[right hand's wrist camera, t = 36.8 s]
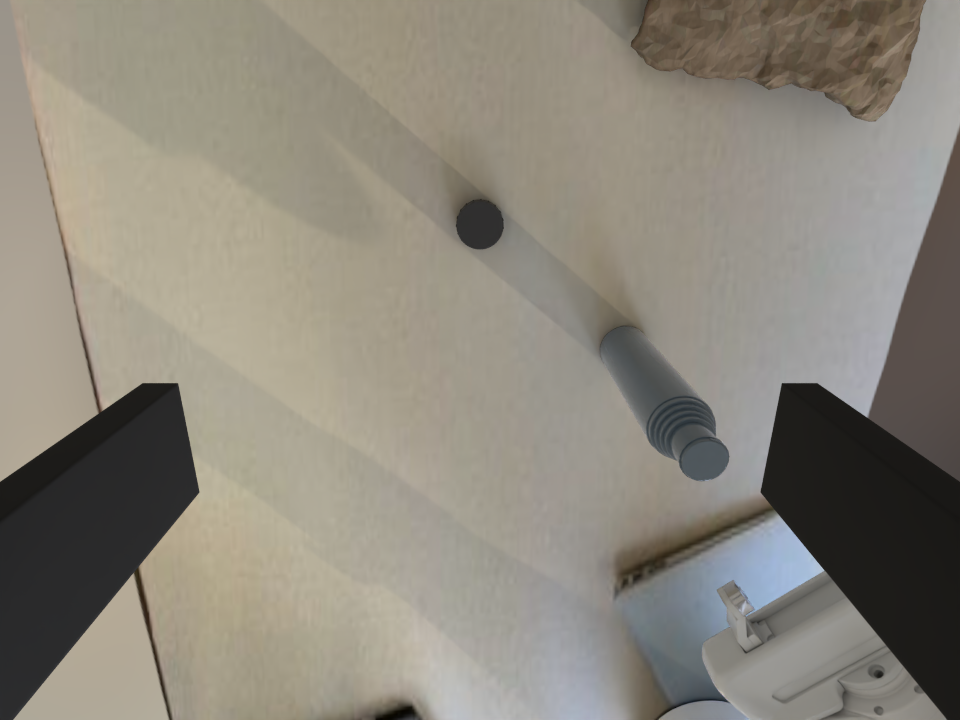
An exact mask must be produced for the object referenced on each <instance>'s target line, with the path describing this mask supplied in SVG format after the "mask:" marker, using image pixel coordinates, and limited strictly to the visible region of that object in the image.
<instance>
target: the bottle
mask: <svg viewBox="0 0 960 720" xmlns="http://www.w3.org/2000/svg"><path fill="white" fill-rule="evenodd" d="M600 356H601V359H602V361H603V363H604V365H605V366H606V368H607V370H608V372H609V373H610V375H611V377H612V379H613V380H614V382H615V384H616V385H617V387H618V389H619V391H620V392H621V394H622V396H623V398H624V399H625V401H626V403H627V404H628V406H629V408H630V410H631V411H632V413H633V415H634V416H635V418H636V420H637V422H638V423H639V425H640V427H641V429H642V430H643V432H644V434H645V435H646V437H647V439H648V441H649V442H650V444H651V445H652V446H653V447H654V448H655V449H656V450H657V451H658V452H659V453H661V454H662V455H664V456H667V457H669V458H672V459H674V460H676V461H678V463H679V466H680V468H681V470H682V472H683V473H684V474H685V475H686V476H687V477H689V478H691V479H694V480H697V481H708V480H711V479H714V478H716V477H718V476H719V475H720V474H721V473H722V472H723V471H724V470H725V468H726V466H727V464H728V461H729V453H728V450H727V448H726V446H725V445H724V444H723V443H722V442H721V441H720V440H719V439H717V438H716V423H715V418H714V416H713V413H712V411H711V409H710V407H709V406H708V405H707V404H706V403H705V402H704V400H703V399H702V398H701V397H700V396H699V395H698V394H697V393H696V391H695V390H694V389H693V388H692V387H691V386H690V385H689V384H688V382H687V381H686V380H685V379H684V378H683V377H682V376H681V375H680V374H679V372H678V371H677V370H676V369H675V368H674V367H673V366H672V365H671V363H670V362H669V361H668V360H667V359H666V358H665V357H664V356H663V354H662V353H661V352H660V351H659V350H658V349H657V348H656V347H655V346H654V344H653V343H652V342H651V341H650V340H649V339H648V338H647V337H646V335H645V334H644V333H643V332H642V331H641V330H639V329H637V328H635V327H631V326H622V327H618V328H616V329H613V330H612V331H610V332H609V333H608V334H607V335H606V336H605V337H604V339H603V341H602V343H601V346H600Z"/></svg>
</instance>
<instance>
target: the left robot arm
mask: <svg viewBox="0 0 960 720" xmlns="http://www.w3.org/2000/svg"><path fill="white" fill-rule="evenodd" d="M717 592H718V593H719V595H720V597H721V599H722V601H723V602H724V604H725V605H726V607H727V623H728V625H729V626H730V627H728V628H727V629H725V630H723V631H721V632H720V633H718V634H716V635H715V636H713V637H711V638H709V639H708V640H706V641H705V642H704V643H703V647H702V659H703V661H704V664H705V667H706V669H707V671H708V673H709V675H710V677H711V679H712V681H713V683H714V685H715V687H716V688H717V689H718V691H719V692H720V693H721V694H722V695H723V696H724V697H725V698H726V699H727V700H728V701H729V702H730V703H728V702H723V701H712V700H710V701H698V702H692V703H688V704H685V705H682V706H679V707H677V708H675V709H673V710H671V711H669V712H667V713H666V714H664V715H663V716H662V717H661V718H659V719H658V720H947V719H946V718H945V717H944V715H943V714H942V713H941V712H940V711H939V709H938V708H937V707H936V706H935V705H934V703H933V702H932V701H931V700H930V698H929V697H928V696H927V695H926V694H925V692H924V691H923V690H922V689H921V687H920V686H919V685H918V684H917V683H916V681H915V680H914V679H913V678H912V676H911V675H910V674H909V673H908V672H907V670H906V669H905V668H904V667H903V665H902V664H901V663H900V662H899V661H898V659H897V658H896V657H895V656H894V654H893V653H892V652H891V651H890V650H889V648H888V647H887V646H886V645H885V644H884V642H883V641H882V640H881V639H880V637H879V636H878V635H877V634H876V633H875V631H874V630H873V629H872V628H871V626H870V625H869V624H868V623H867V622H866V620H865V619H864V618H863V617H862V615H861V614H860V613H859V612H858V611H857V609H856V608H855V607H854V606H853V604H852V603H851V602H850V601H849V600H848V598H847V597H846V596H845V595H844V593H843V592H842V591H841V590H840V589H839V587H838V586H837V585H836V584H835V583H834V581H833V580H832V579H831V578H830V576H829V575H828V574H827V573H826V572H825V571H823V572H822V573H820V574H818V575H817V576H815V577H813V578H812V579H810V580H808V581H806V582H805V583H803V584H801V585H800V586H798V587H796V588H795V589H793V590H791V591H789V592H788V593H786V594H784V595H783V596H781V597H779V598H778V599H776V600H774V601H772V602H771V603H769V604H767V605H766V606H764V607H762V608H761V609H759V610H757V611H755V612H754V613H752V614H750V615H749V616H747V617H746V616H745V615H747V614H748V613H750V612H751V611H753V610H754V608H753V606H752V604H751V603H750V601H749V600H748V597H747V596H746V594H745V593H744V591H743V590H742V589H741V588H740V587H739V586H738V585H737V583H736V582H735V581H734V580H732V581H731V582H729V583H727V584H726V585H724V586H722V587H721V588H719V589H717Z"/></svg>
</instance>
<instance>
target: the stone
mask: <svg viewBox="0 0 960 720" xmlns="http://www.w3.org/2000/svg"><path fill="white" fill-rule="evenodd" d="M925 2H926V0H648V2H647V5H646V8H645V13H644V18H643V21H642V24H641V27H640V29H639V33H638V34H637V36H636V37H635V38H634V39H633V41H632V42H631V47H632V48H634V49H635V50H636V51H637V53H638V54H639V55H640V57H642V58H644V60H645V62H646V63H647V64H648V65H650V66H652V67H653V68H655V69H657V70H661V71H673V70H676V69H680V68H683V69H684V70H685V71H686V72H687V73H688V74H690V75H693V76H696V77H701V78H721V79H727V80H730V79H736V78H738V77H739V78H746V79H749V80H752V81H754V82H756V83H758V84H760V85H763V86H764V87H765V88H767V89H768V90H770V89H774V88H779V87H781V86H784V85H787V84H791V83H792V84H793V85H795V86H798V87H800V88H806V89H808V90H810V91H821V92H824V93H825V96H826V97H827V98H829V99H831V100H832V101H834V102H836V103H839V104H842V105H843V106H845V107H846V108H847V110H848V111H849V112H850V114H851V115H852V116H853V117H855V118H858V119H861V120H865V121H876V120H877V119H878V118H879V117H880V116H881V115H882V114H883V113H885V112H886V111H887V110H888V108H889V106H890V105H891V103H892V101H893V99H894V97H895V95H896V94H897V93H898V92H899V91H900V88H901V85H902V81H903V80H904V79H905V77H906V75H907V71H908V68H909V64H910V61H911V53H912V51H913V49H914V46H915V44H916V42H917V38H918V33H919V31H920V15H921V12H922V9H923V5H924V3H925Z"/></svg>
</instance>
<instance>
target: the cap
mask: <svg viewBox="0 0 960 720" xmlns="http://www.w3.org/2000/svg"><path fill="white" fill-rule="evenodd" d="M456 227H457V232H458V235H459V237H460V239H461V240H462V241H463V242H464V243H465V244H466V245H467V246H469V247H471V248H474V249H486V248H489V247H491V246H492V245H494V244H495V243H496V242H497V241H498V240H499V238H500V237H501V235H502V232H503V229H504V227H503V218H502V216H501V212H500V211H499V210H498V208H497V207H496V205H494V204H492V203H490V202H489V201H485V200H481V199H480V200H475V201H474V200H473V201H472V202H469V203H468V204H467V203H466V205H465V206H464V207H463V208H462V209H461V210H460V213H459V216H457V224H456Z"/></svg>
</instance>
